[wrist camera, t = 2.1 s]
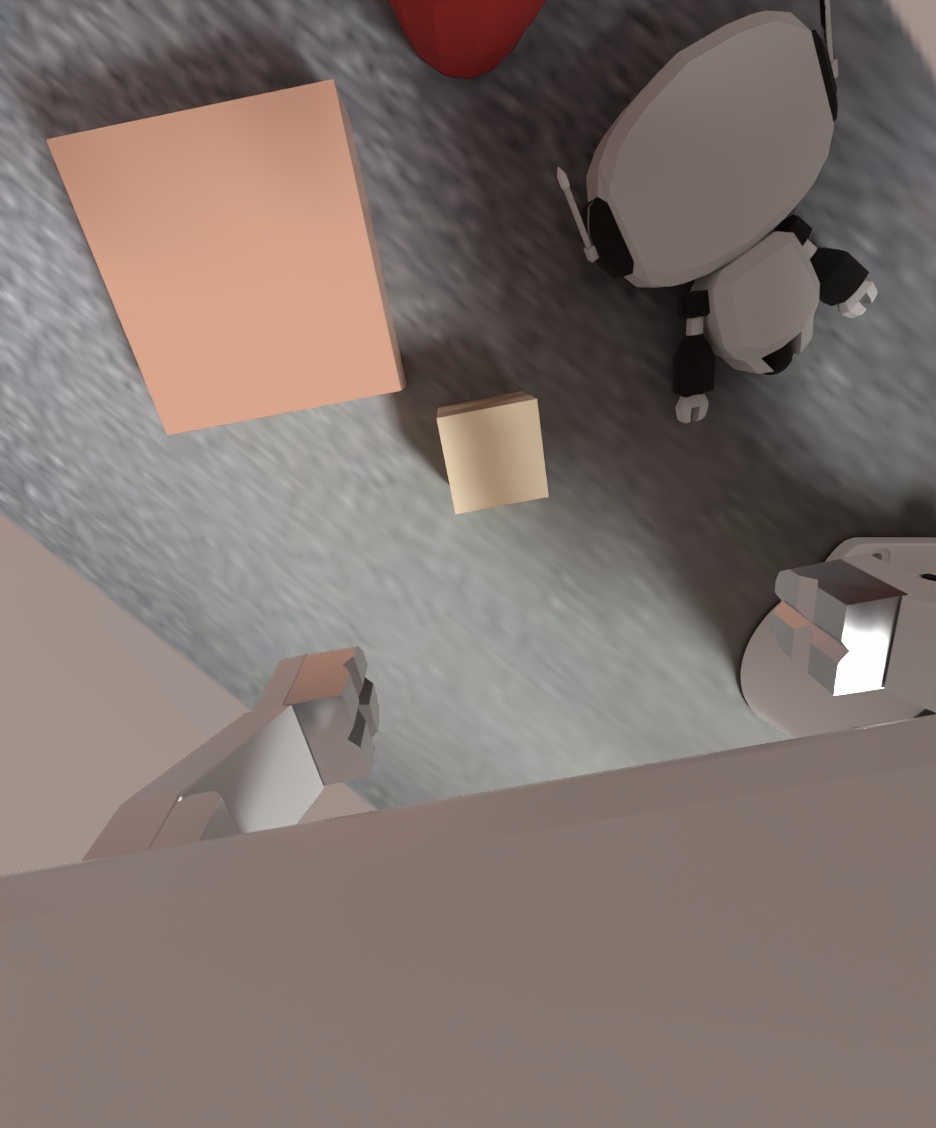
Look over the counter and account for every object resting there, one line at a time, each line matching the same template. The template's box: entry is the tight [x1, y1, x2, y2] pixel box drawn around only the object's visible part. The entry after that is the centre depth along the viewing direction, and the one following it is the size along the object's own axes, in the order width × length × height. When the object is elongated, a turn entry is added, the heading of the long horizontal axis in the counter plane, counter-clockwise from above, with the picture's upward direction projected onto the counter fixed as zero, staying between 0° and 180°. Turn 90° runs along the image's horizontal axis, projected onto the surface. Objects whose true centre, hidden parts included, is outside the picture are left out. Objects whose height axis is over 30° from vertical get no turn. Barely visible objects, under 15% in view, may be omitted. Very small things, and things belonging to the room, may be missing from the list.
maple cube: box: [437, 391, 549, 514], centre depth 28 cm, size 5×5×5 cm
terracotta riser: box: [46, 79, 407, 435], centre depth 24 cm, size 12×12×4 cm
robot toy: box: [557, 0, 878, 423], centre depth 25 cm, size 12×4×15 cm
